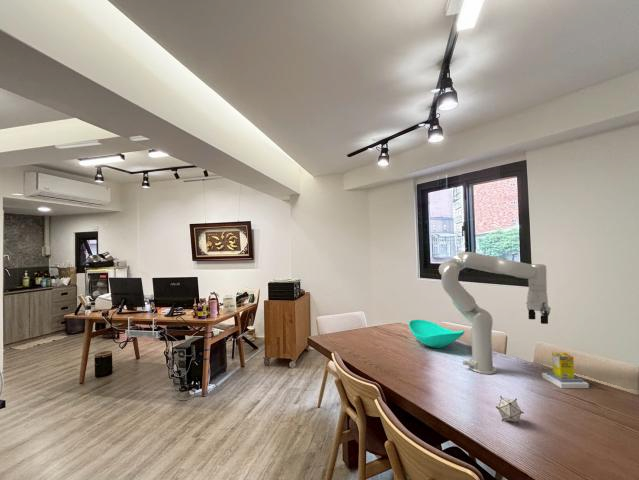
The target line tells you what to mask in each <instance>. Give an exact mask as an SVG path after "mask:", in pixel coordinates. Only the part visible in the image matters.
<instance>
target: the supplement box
mask: <svg viewBox="0 0 639 480" xmlns="http://www.w3.org/2000/svg"><path fill="white" fill-rule="evenodd" d="M551 358H552V372H553V374H554V375H556V376H558V377H560V378H562V379H574V376H575V364H574V363H575V362H574V361H575V360H574V356H573V355H570V354H569V353H566V352H557V351H556V352H555V351H552V352H551Z"/></svg>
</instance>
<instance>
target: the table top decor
mask: <svg viewBox="0 0 639 480" xmlns="http://www.w3.org/2000/svg"><path fill="white" fill-rule="evenodd" d="M408 327H409V329H410V331H411V332H410V333H412V335H413V336H414V337H415V338H416V340H418V342H420V343H422V344H424V345H426V346H428V347H431V348H437V349H440V348H444V347H446V346H448V345H450V344H452V343H454V342H455V341H457V340H459V339H460V338H461V337H462V336H463V335H464V334H465V331H464V330H457V331H454V330H451V329H448V328H444V327H442V326H441V325H439V324H436V323H435V322H432V321H429V320H426V319H413V320H410V321H409V322H408Z"/></svg>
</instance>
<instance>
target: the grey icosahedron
mask: <svg viewBox="0 0 639 480" xmlns="http://www.w3.org/2000/svg"><path fill="white" fill-rule="evenodd" d="M499 397H500V399H499V403H498V405H497V406H495V408H496V409H497V410H498V412H499V414H500V416H501V418H502V419H501V422H503V421H509V422H510V421H511V422H514V423H516V424H518V425H520V423H519V420H520V417H521V415H522V414H525V412H524V411H522V409H521V408H520V406H519V404H518V402H517V400H518V399H517V398H515V399H510V398H504V397H502V396H501V395H499Z"/></svg>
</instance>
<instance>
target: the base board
mask: <svg viewBox="0 0 639 480" xmlns="http://www.w3.org/2000/svg"><path fill="white" fill-rule="evenodd" d="M541 374H542V376H541V377H542V378H543V379H545V380H547V381H549V382H550V383H552V384H554V385H555V386H557V387H558V388H560V389H589V385H590V384H589V382H586V381H584V379H583V378H580V377H578V376H576V375H574V379H562V378H560V377H558V376H556V375H554V374H553V371H546V372H541Z"/></svg>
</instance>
